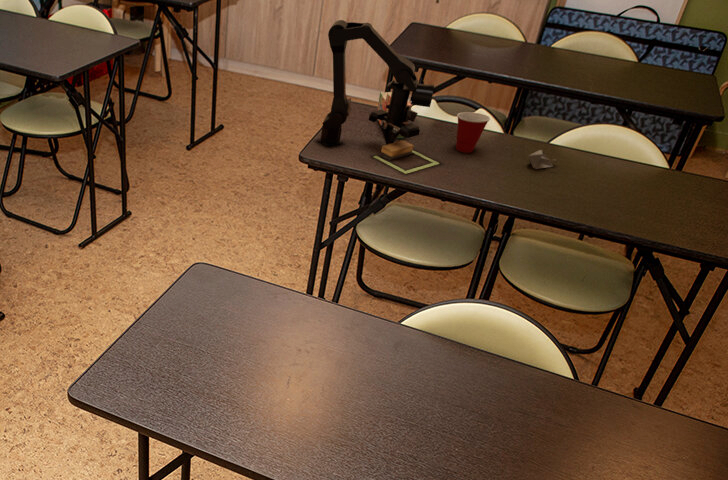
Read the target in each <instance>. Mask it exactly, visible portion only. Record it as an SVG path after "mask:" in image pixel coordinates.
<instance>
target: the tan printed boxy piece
mask: <svg viewBox="0 0 728 480" xmlns="http://www.w3.org/2000/svg"><path fill="white" fill-rule="evenodd" d="M391 94H392V91H388V92H387V91H380V92H379V96H378V103H377V109H376V111H377V110H381V109H382V110H384V111H386V112H388V109H387V108H386V105H388V104H390V99H391ZM407 106H409V109H410V110H412V108H413V107H412V106H413V104H412V102H411V101H410V99H408V103H407ZM377 121H378V122H379V125H380V126H382V121H381V120H379V119H377ZM403 123H404V124H406V125H407V124H409V121H408V122H403ZM396 139H405V137H403V136H401V135H400V134H399V135H398V137H397V138H396Z"/></svg>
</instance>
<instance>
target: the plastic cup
mask: <svg viewBox="0 0 728 480" xmlns="http://www.w3.org/2000/svg"><path fill="white" fill-rule="evenodd" d="M456 117H457V128H456V129H457V131H456V143H455V149H456V150H457V151H458V152H461V153H467V154H468V153H473V151H474V150H475V148H476V145H477V144H478V142H479V140H480V138H481V136H482V134H483V132H484V130H485V128H486V126H487V125H488V122H489V121H490V120H491V117H490V116H489V115H487V114H483V113H480V112H472V111H471V112H470V111H464V112H463V111H462V112H458V113H457V114H456Z"/></svg>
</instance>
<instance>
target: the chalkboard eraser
mask: <svg viewBox="0 0 728 480" xmlns="http://www.w3.org/2000/svg"><path fill="white" fill-rule="evenodd" d="M412 151H414V144H412V143H410V142H408V141H406V140H403V139H402V140H399V141H394V143H391V144H388V145H386V144H385V145H382V146H381V151H380V156H381V157H382V158H384V159H385V160H387V161H393V160H396V159H400V158H403V157H406V156H410V155H412V154H413V153H412Z"/></svg>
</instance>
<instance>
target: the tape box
mask: <svg viewBox="0 0 728 480" xmlns="http://www.w3.org/2000/svg"><path fill="white" fill-rule="evenodd" d="M412 154H414V155H416V156H417V157H419V158H421V159H424V160H426V161H427V162H430V163H427V164H424V165H421V166H417V167H415V168H410V169H408V170H406V169H405V170H404V169H403V168H401V167H399V166H397V165H395V164H394V163H392V162H389V160H387V159H385V158H384V159H383V157H382V158H381V157H380V156H378V155H374V156H373V158H374V159H376V160H377V161H380V162H382V163H384V164H385V165H387V166H389V167H390V168H393V169H395V170H397V171H399V172H401V173H403V174H404V175H407V174H411V173H414V172H418V171H421V170H425V169H428V168H431V167H433V166H438V165H440V162H438V161H436V160H433V159H432V158H430V157H428V156H425V155H424V154H421V153H420V152H417V151H415V150H413V151H412Z"/></svg>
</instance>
